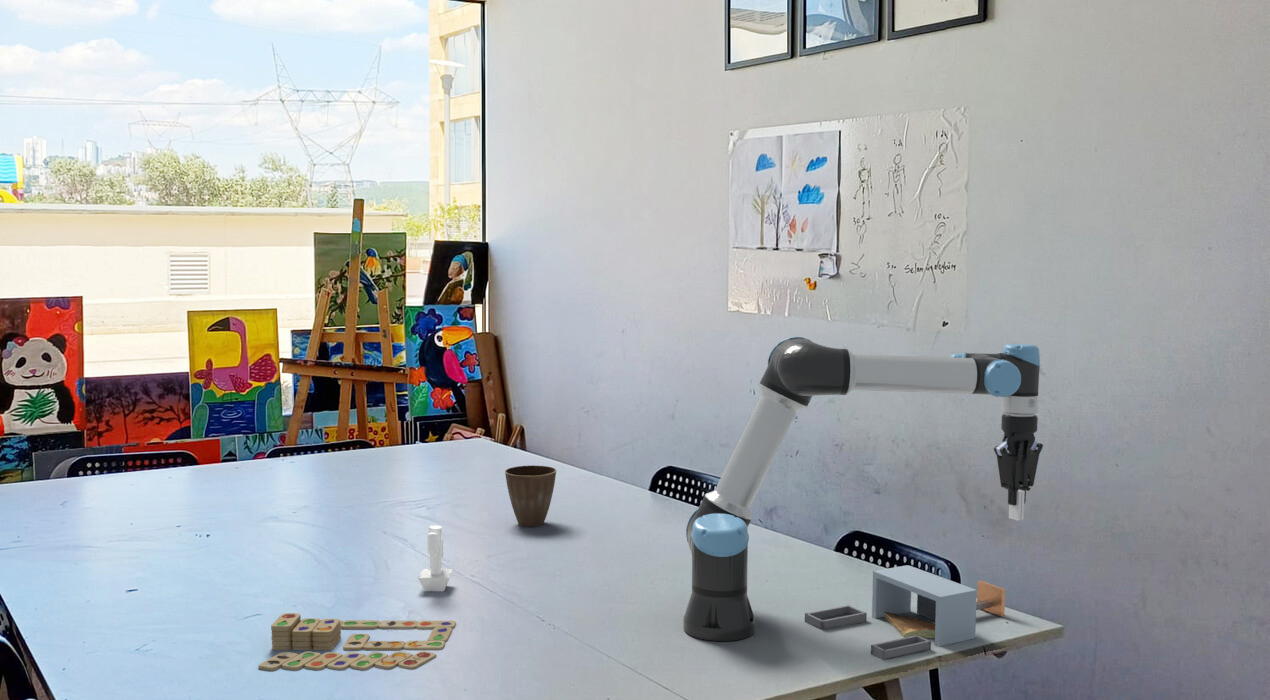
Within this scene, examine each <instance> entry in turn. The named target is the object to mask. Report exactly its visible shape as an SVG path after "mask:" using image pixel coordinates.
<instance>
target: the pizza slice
mask: <svg viewBox="0 0 1270 700" xmlns="http://www.w3.org/2000/svg"><path fill="white" fill-rule="evenodd" d="M885 615H886V616H885V620H887V621H888V622H889V623H890V624H892V626H894V627H895V628H896V629H897V630H898V631H899V633H900V634H901V636H902V637H903V638H906V637H911V636H915V635H918V636H920V637H922V638H925V639H935V622H932V621H929V620H923V619H920V618H916V617H913V616H906V615H901V614H893V613H888V612H885Z"/></svg>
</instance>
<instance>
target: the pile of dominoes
mask: <svg viewBox="0 0 1270 700" xmlns="http://www.w3.org/2000/svg"><path fill="white" fill-rule="evenodd" d="M456 625H457V622H456V621H455V620H419V621H417V620H382V621H381V620H377V619H376V620H374V619H373V620H369V619H367V620H363V619H362V620H361V619H359V620H355V619H353V620H352V619H350V620H349V619H347V620H344V621H343V620H341V619H339V618H323V619H320V618H317V617H316V618H312V617H311V618H302V616H301V614H300V613H299V612H292V613H291V612H285V613H282V614H279V617H278V618H277V619H275V621H273V623H272V624H271V626H270V631H271V650H272V651H282V652H279V653H278V654H275V655H274V656H272V657H270V658H269V659H266V660H264V661H262V662H261V663H259V664H258V670H260V671H261V670H262V671H267V672H268V671H269V672H273V671H274V672H275V671H277V670H279V669H283V670H287V671H288V670H289V671H300V670H301V669H306V670H312V671H321V670H324V669H326V668H328V669H329V670H330V669H331V670H336V671H344V670H347V669H349V668H350V669H353V670H359V671H367V670H369V669H371V668H373V667H375V668H378V669H382V670H393V669H394V668H396V667H398V668H402V669H407V670H415V669H417V668H420V667H421V666H423V665H425V664H427V663H429V662H430V661H432V660H434V659H435V658H437V653H434V652H429V651H441V650H443V649H444V648H445V645H446V643H447V642H448V641H449V639H450V637H451V635H452V632H453V629H455V627H456ZM378 629H379V630H414V629H417V630H431V632H430V634H429V636H428V638H427V640H408V641H407V640H406V641H405V640H404V641H403V640H370V638H371V637H370V634H368V633H353V634H350V636H349V637H348V638H347V641H346V642H345V643H344V645H343V646H342V648H343V651H350V652H348V653H346V654H344V655H343V653H341V652H333V651H332V650H333V649H334V648H335V647H336V646H337V644H338V643H339V641H340V639H341V638H342V635H341V634H342V630H378ZM290 650H293V651H304V652H301V653H300V654H298V653H297V652H296V653H295V652H289V651H290ZM311 650H314V651H311ZM362 650H364V651H372V652H370V653H367V654H366V653H362V652H357V651H362ZM403 650H405V651H403ZM315 651H326V652H324V653H323V654H321V653H320V652H315ZM355 651H356V652H355ZM378 651H379V652H378ZM380 651H395V652H393V653H391V654H390V655H389V654H388V653H386V652H380ZM406 651H418V652H416V653H415V654H414V655H413V653H411V652H406Z"/></svg>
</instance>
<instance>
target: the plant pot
mask: <svg viewBox="0 0 1270 700" xmlns="http://www.w3.org/2000/svg"><path fill="white" fill-rule="evenodd" d="M504 474H505V481H506V487H507V492H508V495H509V496H508V497H509V500H510V503H511V507H512V511H513V513H514V516H515V518H516V521H517V524H518V525H519V526H520V527H524V528H525V527H527V528H534V527H535V528H536V527H540V526H543V525H544V524H545V521H546V518H547V516H548V512H549V509H550V506H551V502H552V499H553V492H554V488H555V483H556V475H557V469H556V468H555V467H551V466H547V465H535V464H534V465H519V466H512V467H508V468H506V469H505V471H504Z"/></svg>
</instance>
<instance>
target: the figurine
mask: <svg viewBox="0 0 1270 700" xmlns="http://www.w3.org/2000/svg"><path fill="white" fill-rule="evenodd" d="M442 534H443V526H441V525H430V526H428V534H427V553H428V555H429V567H430V568H423V569H422V570H421V572H420V573H419V575H418V577H417V579H418V581H419V583H420V585H421V587H422V588H423V590H424V592H445V590H446V588H447V586H448V584H449V580H450V578H451V575H452V573H453V572H454V571H453V570H454V568H442V558H443V557H444V540H443V538H442Z"/></svg>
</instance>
